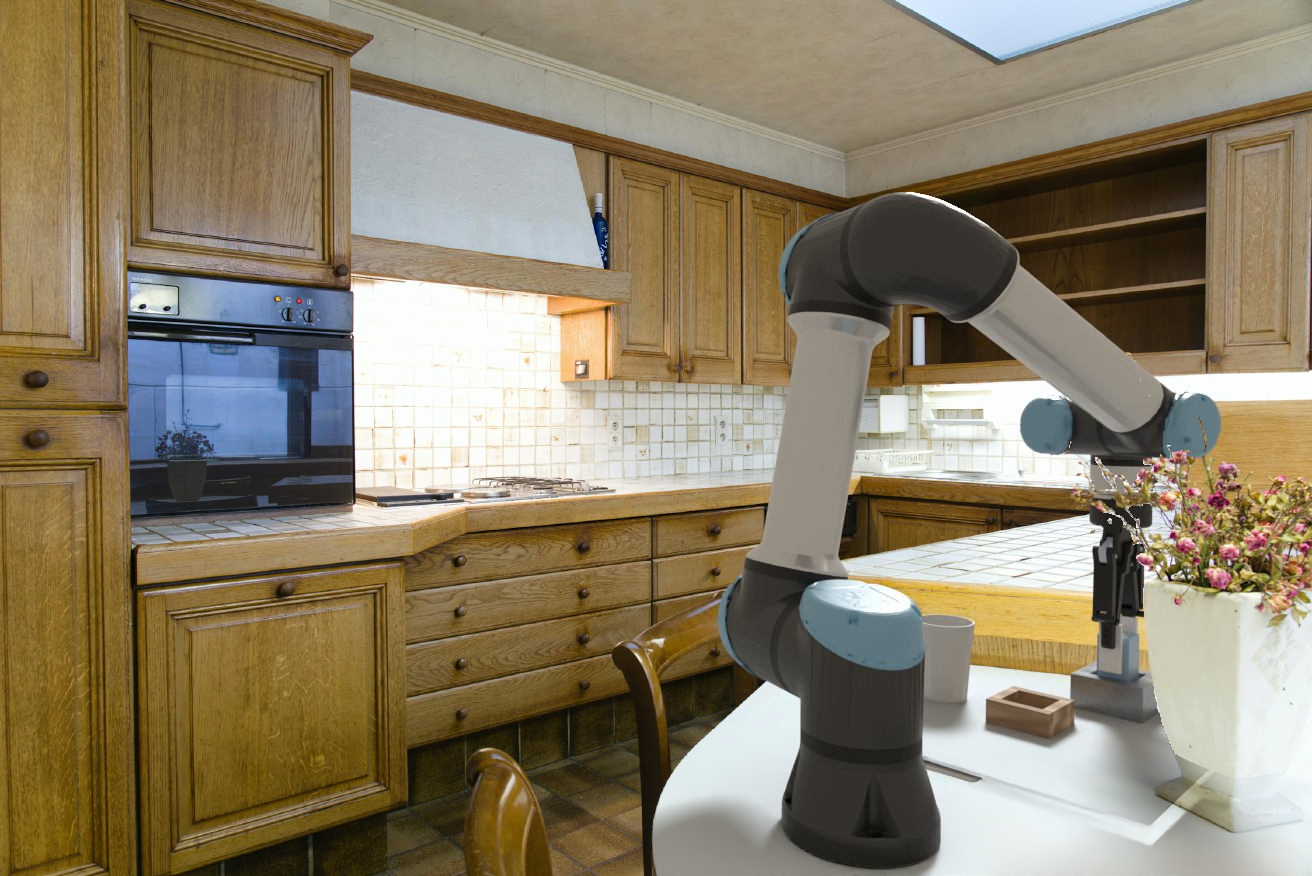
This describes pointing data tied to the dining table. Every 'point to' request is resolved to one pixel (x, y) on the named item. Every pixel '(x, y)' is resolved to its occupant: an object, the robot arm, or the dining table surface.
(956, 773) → the smartphone
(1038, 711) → the tan square frame
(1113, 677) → the plug
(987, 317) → the robot arm
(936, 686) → the cup
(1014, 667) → the dining table surface
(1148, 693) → the port
